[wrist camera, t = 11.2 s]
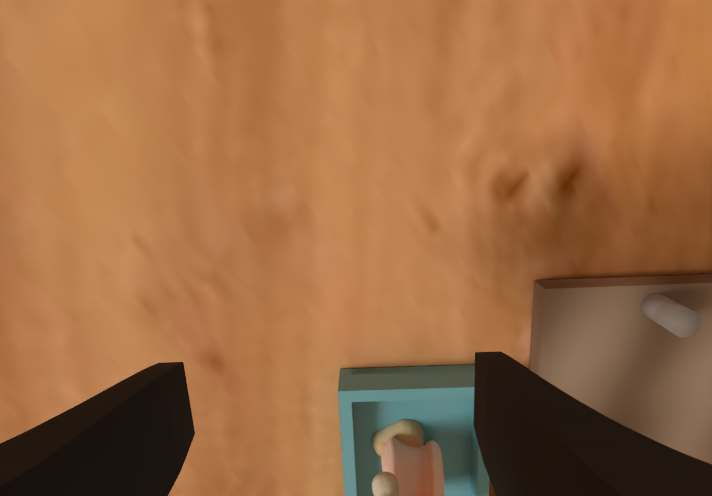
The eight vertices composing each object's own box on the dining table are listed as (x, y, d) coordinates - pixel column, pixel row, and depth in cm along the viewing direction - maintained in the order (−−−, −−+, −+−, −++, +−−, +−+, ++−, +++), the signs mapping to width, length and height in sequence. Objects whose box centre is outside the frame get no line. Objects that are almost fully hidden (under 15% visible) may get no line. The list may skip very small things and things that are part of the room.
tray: (481, 364, 22) (493, 386, 20) (476, 539, 25) (485, 574, 23) (340, 368, 22) (338, 391, 20) (350, 542, 25) (349, 576, 23)
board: (747, 272, 20) (817, 296, 17) (701, 511, 24) (751, 568, 21) (534, 280, 21) (564, 306, 17) (520, 516, 24) (542, 572, 21)
